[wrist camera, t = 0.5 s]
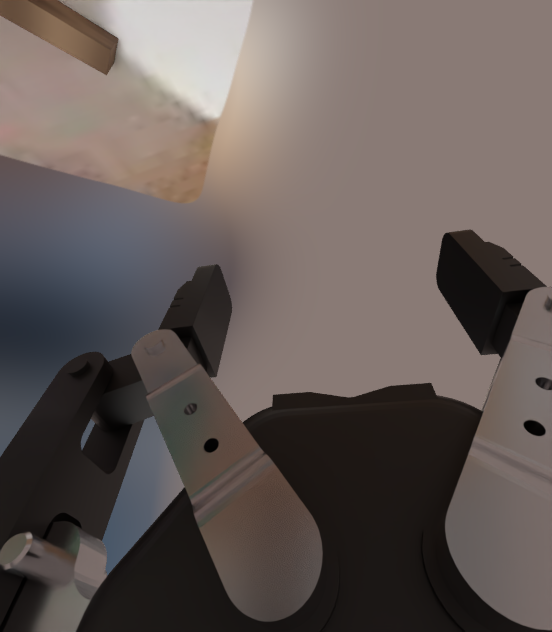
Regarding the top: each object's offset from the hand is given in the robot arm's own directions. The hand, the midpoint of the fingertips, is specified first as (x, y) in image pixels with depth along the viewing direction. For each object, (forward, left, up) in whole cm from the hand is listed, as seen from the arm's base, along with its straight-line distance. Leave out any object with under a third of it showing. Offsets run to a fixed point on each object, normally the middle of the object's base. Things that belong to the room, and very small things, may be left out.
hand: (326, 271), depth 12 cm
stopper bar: (-18, -8, -29) cm, 35 cm away
